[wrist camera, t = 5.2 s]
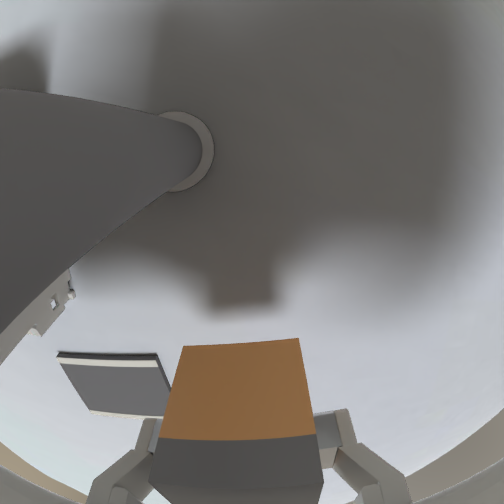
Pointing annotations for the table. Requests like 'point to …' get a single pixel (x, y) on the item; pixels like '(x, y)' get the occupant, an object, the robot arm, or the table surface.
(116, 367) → the mat
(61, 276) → the circuit breaker
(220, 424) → the orange and grey block
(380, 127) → the table surface
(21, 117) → the cord posts
